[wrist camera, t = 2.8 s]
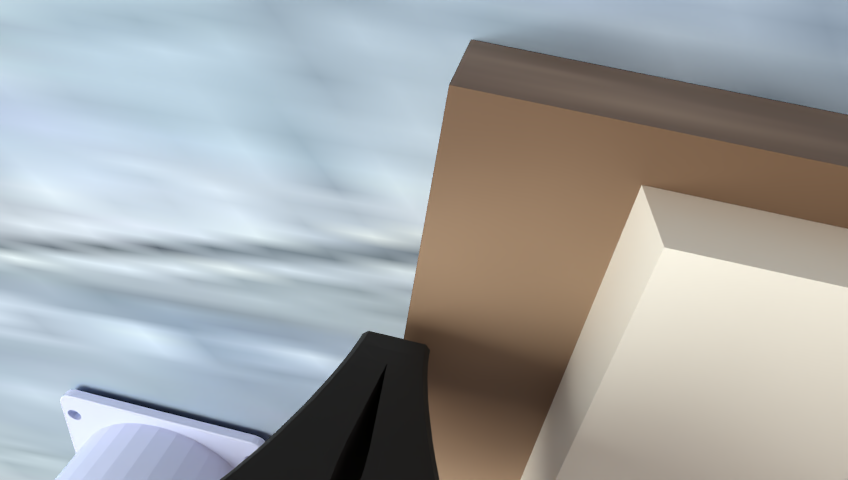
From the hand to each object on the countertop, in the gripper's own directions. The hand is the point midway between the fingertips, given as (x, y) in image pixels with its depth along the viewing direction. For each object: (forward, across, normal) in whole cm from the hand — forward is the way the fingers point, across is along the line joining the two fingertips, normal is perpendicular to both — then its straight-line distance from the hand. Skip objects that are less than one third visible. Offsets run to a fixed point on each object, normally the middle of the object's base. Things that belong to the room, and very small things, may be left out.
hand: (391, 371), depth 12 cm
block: (+1, -7, 0) cm, 7 cm away
